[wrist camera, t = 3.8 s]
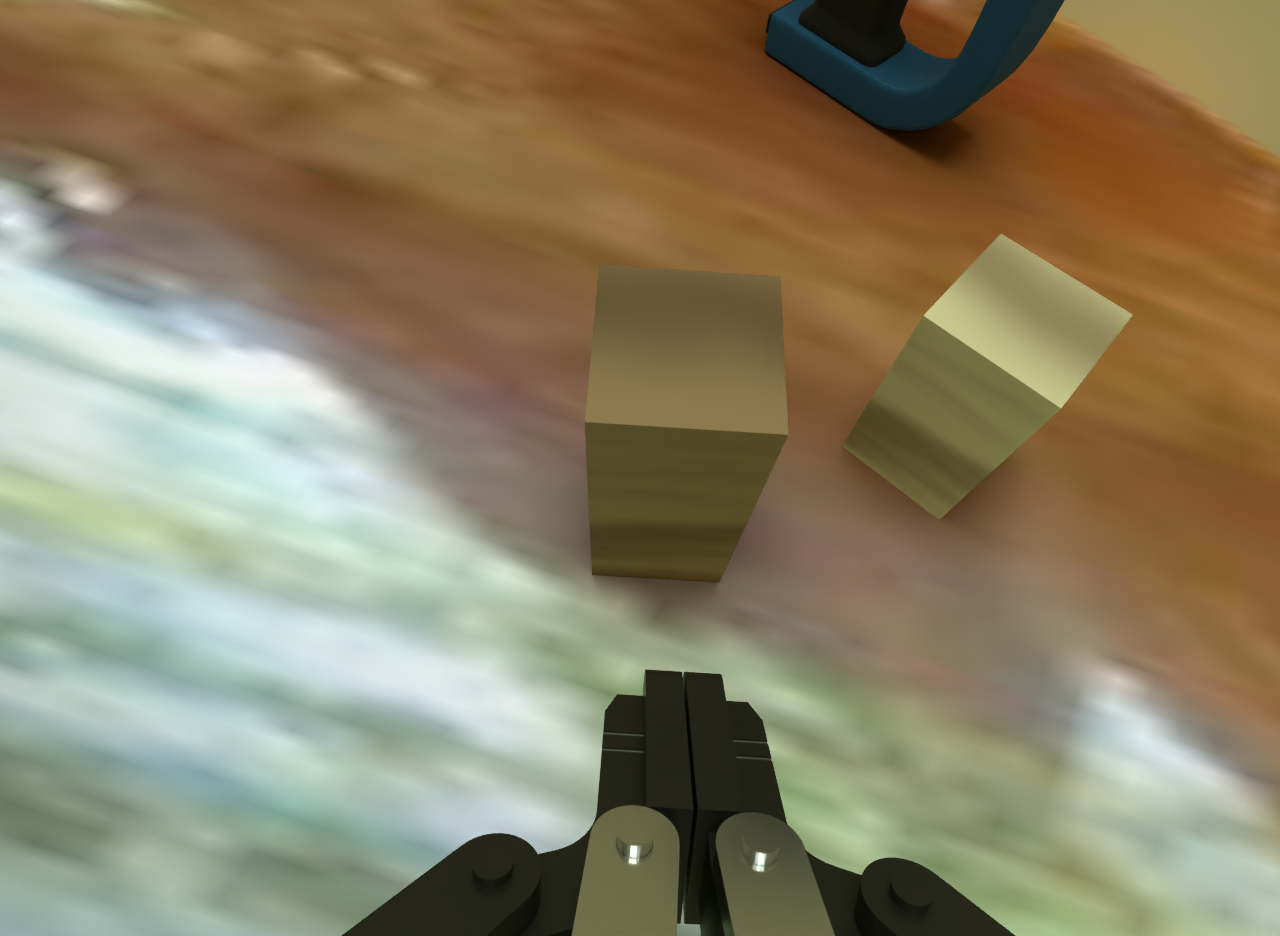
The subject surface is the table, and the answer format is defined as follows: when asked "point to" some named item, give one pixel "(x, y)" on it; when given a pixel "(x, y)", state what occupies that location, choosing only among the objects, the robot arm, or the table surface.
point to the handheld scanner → (902, 56)
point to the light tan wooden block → (680, 417)
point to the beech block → (982, 374)
